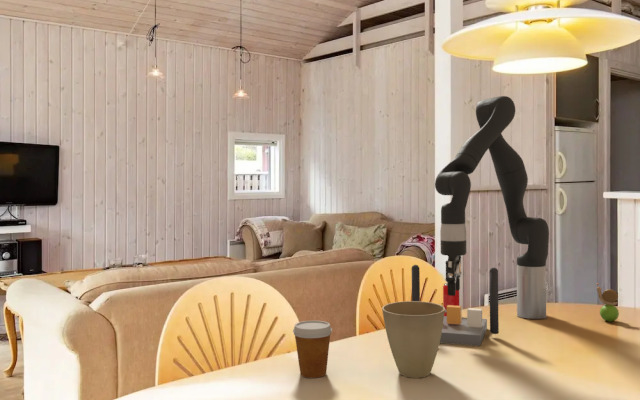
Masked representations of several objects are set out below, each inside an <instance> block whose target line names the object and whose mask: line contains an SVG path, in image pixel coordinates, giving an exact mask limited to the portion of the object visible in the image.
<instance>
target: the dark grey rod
mask: <svg viewBox="0 0 640 400" xmlns="http://www.w3.org/2000/svg"><path fill="white" fill-rule="evenodd" d="M420 272H421V271H420V266H419V265H418V264H413V265H412V266H411V301H421V294H420V293H421V292H420V291H421V289H420V288H421V284H420V282H421V281H420V280H421V277H420Z"/></svg>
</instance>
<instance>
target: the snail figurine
mask: <svg viewBox="0 0 640 400" xmlns="http://www.w3.org/2000/svg"><path fill="white" fill-rule="evenodd" d="M598 285H599V283H598V282H597V283H596V291H597V295H598V299H599V300H600V302H601V303H602V304H604V305H603V306H601V308H600V310H599V315H600V317H601V319H602V320H604V321H605V322H614V321H616V320H617V319H618V317H619V314H620V312H619V309H618V308H617V307H616V305H618V304H619V302H618V301H617V300H618V299H619V296H618V295H619V294H618V293H617V291H616V290H614V289H610V288H607V289H605V290H603V292H602V288H601V286H598Z"/></svg>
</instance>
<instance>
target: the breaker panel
mask: <svg viewBox="0 0 640 400" xmlns="http://www.w3.org/2000/svg"><path fill="white" fill-rule="evenodd" d="M466 313H467V316H466V317H462V323H461V324H447V316H444V320H443V328H442V333H441V339H440V343H439V344H449V345H450V344H452V345H461V346H462V345H463V346H473V347H474V346H475V347H480V346H481V344H482V343H483V340H484V337H485V334H486V332H487V329H488V318H483V308H473V307H471V308H470V307H468V308H467V310H466Z"/></svg>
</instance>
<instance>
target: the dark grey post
mask: <svg viewBox="0 0 640 400" xmlns="http://www.w3.org/2000/svg"><path fill="white" fill-rule="evenodd" d="M488 271H489V274H488V275H489V333H490V334H491V335H499V332H500V329H499V270H498V268H496V267H491V268H490V269H489V270H488Z"/></svg>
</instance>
